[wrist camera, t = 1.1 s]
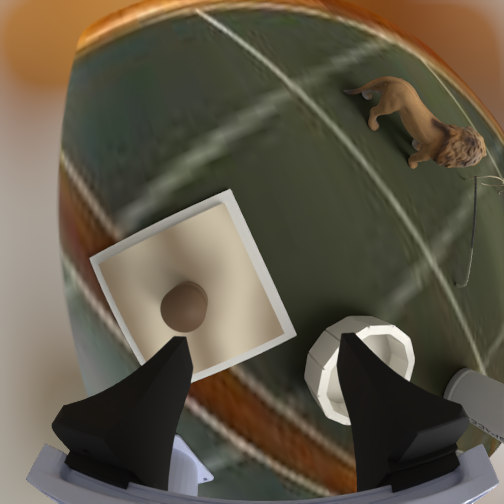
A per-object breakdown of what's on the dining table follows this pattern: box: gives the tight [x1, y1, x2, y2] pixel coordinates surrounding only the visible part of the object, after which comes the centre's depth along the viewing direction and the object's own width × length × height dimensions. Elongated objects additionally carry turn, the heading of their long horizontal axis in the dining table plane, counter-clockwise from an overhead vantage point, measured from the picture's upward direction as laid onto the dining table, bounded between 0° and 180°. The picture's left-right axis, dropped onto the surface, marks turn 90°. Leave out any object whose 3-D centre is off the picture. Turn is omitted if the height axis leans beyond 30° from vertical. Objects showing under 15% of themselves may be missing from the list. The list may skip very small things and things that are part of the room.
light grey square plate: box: [89, 189, 297, 383], centre depth 23 cm, size 14×14×1 cm
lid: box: [98, 203, 285, 375], centre depth 21 cm, size 12×12×4 cm
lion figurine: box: [343, 76, 486, 168], centre depth 21 cm, size 15×5×9 cm, turn 60°
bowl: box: [304, 316, 415, 425], centre depth 23 cm, size 10×10×4 cm
